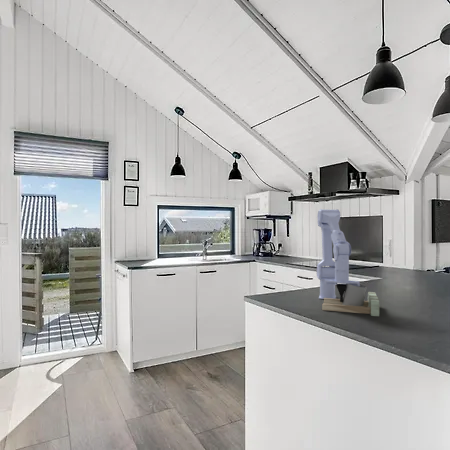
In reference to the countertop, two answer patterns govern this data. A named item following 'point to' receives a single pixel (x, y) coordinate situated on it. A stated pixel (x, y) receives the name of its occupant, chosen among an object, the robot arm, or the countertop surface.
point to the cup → (354, 295)
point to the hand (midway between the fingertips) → (341, 301)
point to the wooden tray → (367, 308)
